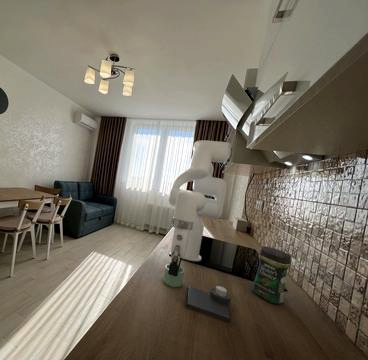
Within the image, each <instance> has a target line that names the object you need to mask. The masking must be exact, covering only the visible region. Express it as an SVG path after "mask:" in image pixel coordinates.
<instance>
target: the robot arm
mask: <svg viewBox="0 0 368 360" xmlns="http://www.w3.org/2000/svg"><path fill="white" fill-rule="evenodd" d="M231 151H232V146H231V143H230V142H227V141H217V140H206V139H204V140H196V141H195V142H194V144H193V153H192V156H191V159H190V163H189V165H188V168H187V169H185V170H183V171H182V172H180V173H179V174H178V175H177V176H176V178H174V180H173V182H172V185H171V187H170V190H169V193H168V203H169V205H170V206H173V207H174V210H173V211H174V212H173V217H172V222H171V227H172V228H174V229H173V234H172V241H171V246H170V247H171V248H170V255H171V258H170V262H169V264H170V265H169V271H168V274H169V275H172V276H176V277H177V276H178V270H179V266H180V267H181V264H182V260H185V261H191V262H201V261H202V256H201V255H200V250H201V245H202V240H203V234H204V229H205V228H204V227H205V223H204V221H203V219H202V218H201V217H203V218H209V219H213V220H219V219H220V218H222V215H223V210H224V205H225V201H226V200H225V199H226V194H227V182H226V180H225V179H224V178H221V177H220V178H219V177H213V175H214V170H215V169H214V164H213V163H220V164H224V163H226V162H227V161H228V160H229V157H230V155H231ZM189 182H190V183H191V182H193V183H192V190H188V189H183V188H181V187H182V186H183V185H184V184H187V183H189ZM206 196H209V197H213V198H209V197H206Z"/></svg>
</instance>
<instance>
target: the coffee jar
mask: <svg viewBox="0 0 368 360" xmlns="http://www.w3.org/2000/svg"><path fill="white" fill-rule="evenodd" d="M258 258H259V265H258V268H257V272H256V276H255V277H254V281H253V284H252V288H251V290H252V293H254V294H255V295H257V296H258V297H260V298H261V299H262V300H265V301H266V302H269V303H270V304H275V305H280V304H283V302H284V299H285V287H286V280H287V273H288V270H289V269H290V267H291V265H292V260H291V259H292V255H291V254H290V253H288V252H286V251H283V250H280V249H277V248H275V247H272V246H268V245H267V246H266V245H264V246H262V247H261V249H260V250H259V253H258Z"/></svg>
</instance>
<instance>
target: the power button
mask: <svg viewBox="0 0 368 360" xmlns="http://www.w3.org/2000/svg"><path fill="white" fill-rule="evenodd" d="M215 288H216V292H215V293H216V294H217V295H219V296H222V297H226V292H227V293H228V290H227V289H226V288H225V287H224V286H221V285H216V287H215Z"/></svg>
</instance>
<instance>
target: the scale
mask: <svg viewBox="0 0 368 360" xmlns="http://www.w3.org/2000/svg"><path fill="white" fill-rule="evenodd" d="M215 292H216V287H213V288H211V289H210V292H209V291H205V290H202V289H199V288H196V287H193V286H190V285H189V286H188V293H187V299H186V308H188V309H190V310H193V311H196V312H198V313H201V314H205V315H207V316H210V317H213V318H216V319H219V320H221V321H225V322H226V323H231V316H230V313H229V307H228V305H229V304H230V303H231V299H232V296H231V295H230V294H229V292H228V291H227V292H226V297H222V296H219V295H217V294H216V293H215Z"/></svg>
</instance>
